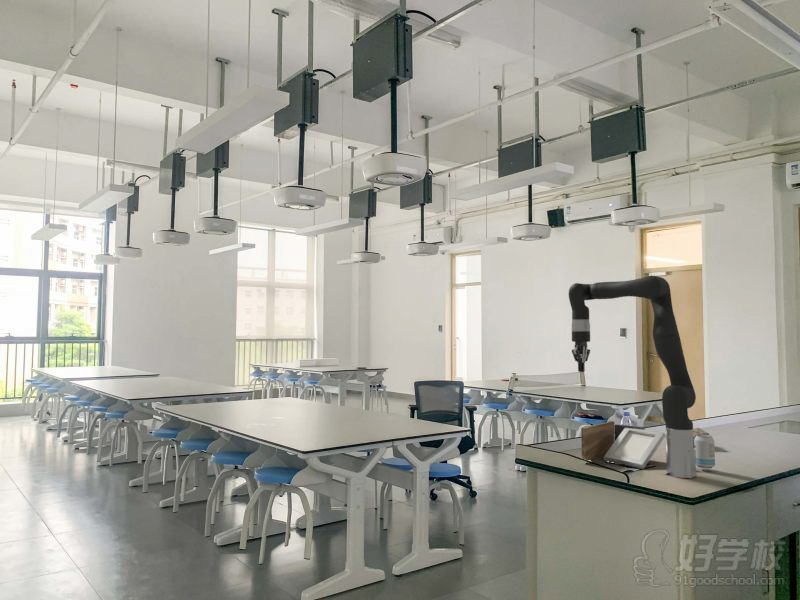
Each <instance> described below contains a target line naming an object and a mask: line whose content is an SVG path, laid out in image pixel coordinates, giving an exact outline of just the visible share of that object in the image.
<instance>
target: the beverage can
mask: <svg viewBox="0 0 800 600" xmlns="http://www.w3.org/2000/svg"><path fill="white" fill-rule="evenodd" d="M715 448H716V447H715V439H714V438H713V435H711V434H709V435H705V434H697V435H696V437H695V439H694V449H695V451H696V467H698V468H700V469H713V467H715V466H716V451H715Z"/></svg>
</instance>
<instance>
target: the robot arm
mask: <svg viewBox="0 0 800 600" xmlns="http://www.w3.org/2000/svg"><path fill="white" fill-rule="evenodd" d="M671 293H672V291H671V287H670V283H669V282H668V281H667V279H665V278H663V277H660V276H656V275H647V276H644V277H639V278H636V279H630V280H623V281H622V280H621V281H601V282H594V283H579V282H575V283H572V284H571V285H570V287H569V290H568V300H569V304H570V307H571V341H572V342H574V349H571V353H572V356H573V359H574V362H577V372H579V373H584V372H585V371H586V368H585V364H586V362H588V359H589V357H590V353H591V349H590V348H589V349H588V343H590V342H591V322H590V308H589V307H588V306H587V305H586V302H585V301H592V300H609V299H610V300H611V299H618V298H624V297H625V298H626V297H634V298H643V299H647V300H649V301H650V303H651V307H652V311H653V325H652V339H653V344H654V347H655V351H656V353H657V356H658V358H659V360H660V361H661V363H662V364H663V366H664V368H665V369H666V371H667V374H668V377H669V382H670V385H668V386H666V387H664V389H663V392H662V396H661V397H662V398H661V399H662V400H661V405H662V417H663V421H664V423H665V454H666V456H665V457H666V459H665V460H666V462H665V463H666V474H667V476H670V477H674V478H681V479H693V478H695V477H696V476H697V465H696V451H695V449H694V446H693V429H694V422H693V420H691V419H690V418H689V414H688V413H689V410H688V409H690V408H692V407H693V406H694V405H695V403H696V399H697V396H696V392H695V388H694V385H693V383H692V380H691V377H690V375H689V371H688V368H687V364H686V363H687V362H686V359H685V355H684V354H685V353H684V350H683V344H682V340H681V336H680V333H679V330H678V325H677V321H676V317H675V313H674V309H673V303H672V294H671Z"/></svg>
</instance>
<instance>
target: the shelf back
mask: <svg viewBox="0 0 800 600" xmlns="http://www.w3.org/2000/svg"><path fill="white" fill-rule="evenodd" d="M580 429H581V431H580V432H581V433H580V434H581V435H580V436H581V437H580V438H581V442H580V443H581V459H582V458H583V459H586V460H591V461H594V462H596V460H597V461H599V459H600V460H601V459H604V455H605V454H606V453H607V451H608V450H609V449H610V447H611V446H612V445H613V443H614V442H615V421H614V420H609V421H605V422H601V423H596V424H592V425H589V426H584V427H581V428H580Z"/></svg>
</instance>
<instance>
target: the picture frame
mask: <svg viewBox="0 0 800 600" xmlns="http://www.w3.org/2000/svg"><path fill="white" fill-rule="evenodd" d="M665 438H666V433H665V432H664V431H659V430H653V429H646V428H645V429H644V430H643V429H633V428H624V430H623V431H622V432H621V434H620V435H619V436H618V438H617V439H616V441H615V442H614V443H613V445H612V446H611V447H610V449H609V450H608V451H607V453H606V454H605V455H604V457H603V460H604V462H605V461H609V462H614V463H619V464H618V465H623V464H625V465H624V466H627V465H628V467H633V468H638V469H643V470H644V469H646V467H647V465H648V463H649V462H650V460H651V459H652V457H653V456H654V454H655V453H656V451H657V450H658V448H659V447H660V446H661V444H662V442H663V441H664V439H665Z"/></svg>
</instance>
